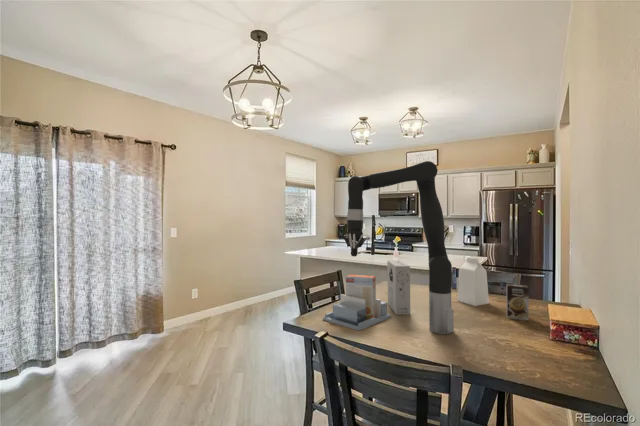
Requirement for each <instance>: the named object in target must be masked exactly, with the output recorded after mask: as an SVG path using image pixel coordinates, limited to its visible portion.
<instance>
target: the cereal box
mask: <svg viewBox="0 0 640 426" xmlns="http://www.w3.org/2000/svg"><path fill="white" fill-rule="evenodd" d="M386 262H387V264H386V265H387V268H386V269H387V305H389V307H390V308H391V310H392V311H393V312H394V314H395V315H411V266H410V265H408V263H405V262H404V261H402V260H399V259H398V260H397V259H390V260H389V259H388V260H387V261H386Z"/></svg>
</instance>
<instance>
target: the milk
mask: <svg viewBox="0 0 640 426" xmlns="http://www.w3.org/2000/svg"><path fill="white" fill-rule="evenodd" d="M487 274H488V273H487V270H486V268H485V267H483V265H482V264H481V263H480V261H479V259H478V257H477V258H476V257H472V256H467V258H466V260H465V261H464V263H463V264H462V265H461V266H460V268H459V269H458V282H457V283H458V284H457V299H456V301H457V302H460V303H463V304H466V305H470V306H474V307H477V306H483V305H489V303H490V301H489V289H488V285H489V284H488V275H487Z"/></svg>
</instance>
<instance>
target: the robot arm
mask: <svg viewBox="0 0 640 426" xmlns="http://www.w3.org/2000/svg"><path fill="white" fill-rule="evenodd" d="M438 172H439V171H438V167H437V165H436V164H435V163H434V162H432V161H429V160H424V161H421V162H419V163H416V164H414V165H411V166H406V167H403V168H399V169H392V170H386V171H379V172H375V173H371V174H368V175H363V176H359V175H354V176H351V177H349V180H348V182H347V193H348V196H347V197H348V201H347V202H348V203H347V213H346V214H347V216H346V230H347V231H346V234H344V235H343V236H342V238H343V240H344V241H345V244H346V246H347V247H350V255H351V257H357V256H358V250H359V248H362V247H363V245H364V244H365V242H366V241H367V239H368V237H367V236H364V233H363V229H364V197H363V194H364V191H368V190H372V189H373V190H374V189H379V188H381V189H382V188H385V187H390V186H394V185H398V184H403V183H405V182H415V181H416V185H417V189H418V193H419V194H418V195H419V205H420V206H419V208H420V216H421V217H420V218H421V222H422V223H421V224H422V228H423V229H422V230H423V233H424V237H425V239H426V243H427V251H428V254H427V255H428V273H429V274H428V277H429V279H428V280H429V281H428V306H429V307H428V309H429V310H428V311H429V312H428V313H429V314H428V315H429V319H428V321H429V324H428V325H429V331H430V332H432V333H435V334H439V335H447V336H448V335H450V334H452V333H454V309H452V286H453V266H452V261H450V259H449V257H448V254H447V250H446V244H445V220H444V214H443V213H444V212H443V209H442V205H441V203H440V199H439V197H438V193H437V191H436V179H435V178H436V176H437V175H438Z"/></svg>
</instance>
